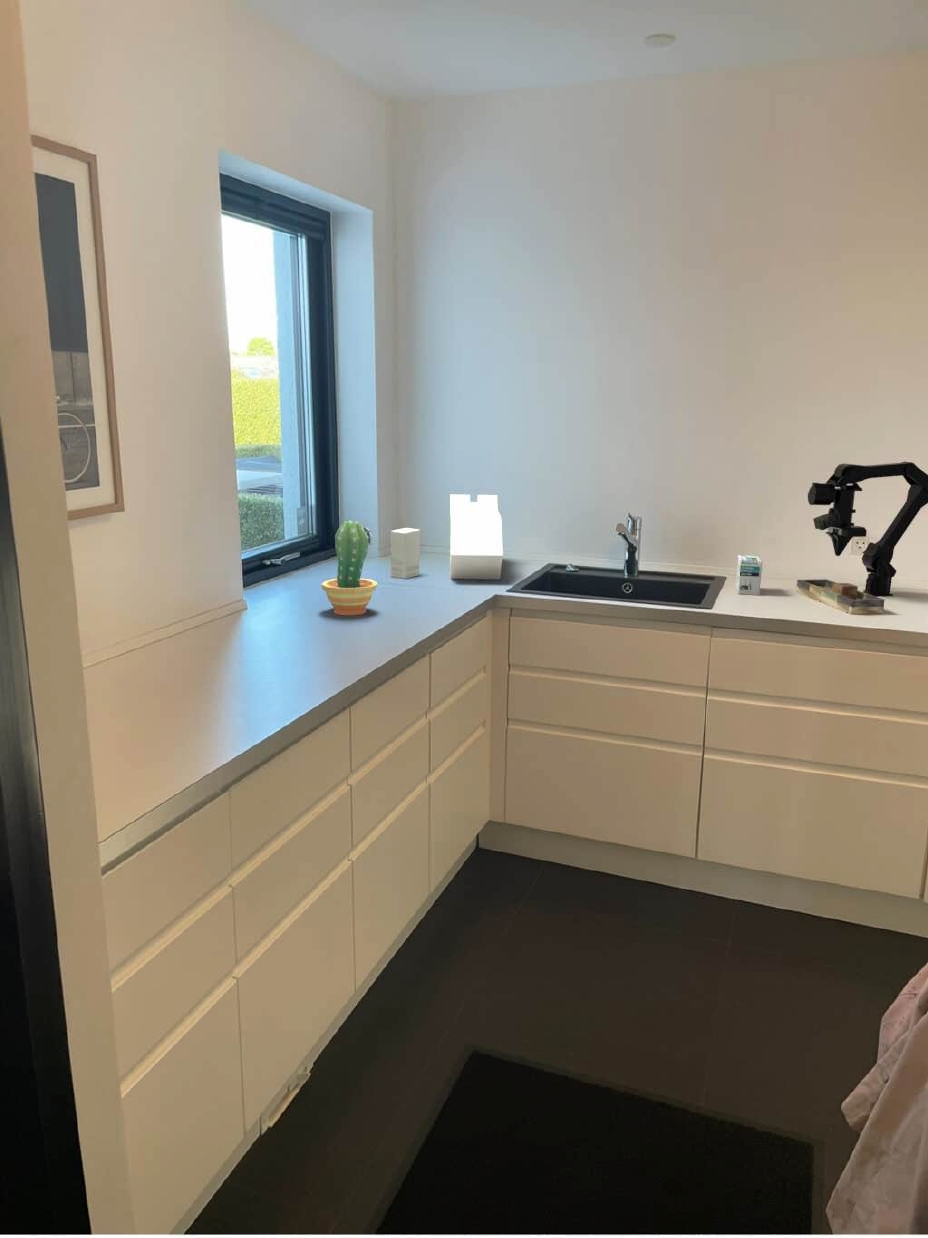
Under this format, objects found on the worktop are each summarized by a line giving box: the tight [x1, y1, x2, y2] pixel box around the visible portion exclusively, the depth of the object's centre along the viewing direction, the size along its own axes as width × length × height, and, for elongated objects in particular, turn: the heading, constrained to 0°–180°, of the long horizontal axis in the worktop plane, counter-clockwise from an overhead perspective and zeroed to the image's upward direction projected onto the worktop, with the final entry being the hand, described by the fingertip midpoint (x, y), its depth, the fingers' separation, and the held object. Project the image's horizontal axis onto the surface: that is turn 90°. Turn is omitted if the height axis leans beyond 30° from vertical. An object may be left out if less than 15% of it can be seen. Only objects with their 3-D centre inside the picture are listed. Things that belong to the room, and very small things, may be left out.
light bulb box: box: [735, 554, 763, 596], centre depth 289 cm, size 11×7×11 cm, turn 169°
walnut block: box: [832, 582, 859, 600], centre depth 272 cm, size 5×5×4 cm
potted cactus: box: [321, 520, 378, 616], centre depth 252 cm, size 15×16×25 cm
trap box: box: [795, 578, 886, 615], centre depth 276 cm, size 10×30×4 cm, turn 10°
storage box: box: [449, 494, 504, 580], centre depth 312 cm, size 26×16×35 cm
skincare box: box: [390, 527, 421, 580], centre depth 304 cm, size 8×7×16 cm
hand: (837, 555), depth 286 cm, fingers closed
